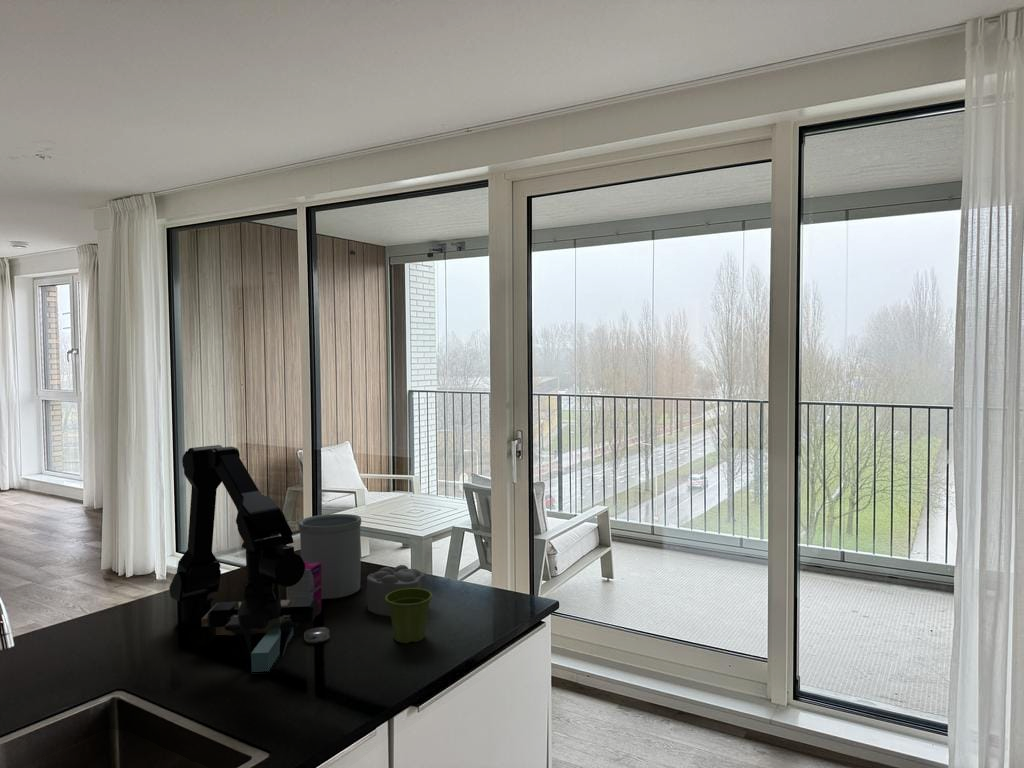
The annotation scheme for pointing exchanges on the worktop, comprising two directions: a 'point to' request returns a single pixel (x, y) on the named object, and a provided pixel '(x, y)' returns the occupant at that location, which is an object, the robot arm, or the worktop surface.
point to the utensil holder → (333, 551)
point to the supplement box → (307, 585)
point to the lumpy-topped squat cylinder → (391, 586)
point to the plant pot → (409, 613)
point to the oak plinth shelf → (253, 630)
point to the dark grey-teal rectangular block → (267, 649)
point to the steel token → (317, 635)
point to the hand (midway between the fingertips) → (265, 657)
